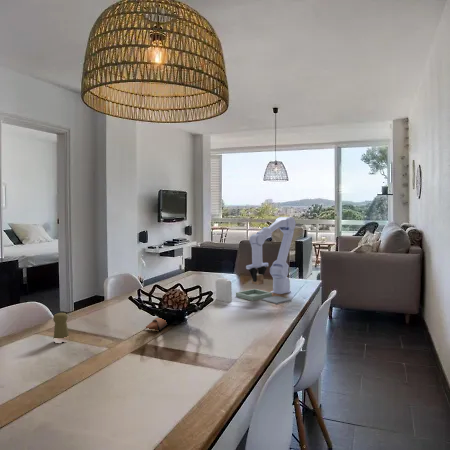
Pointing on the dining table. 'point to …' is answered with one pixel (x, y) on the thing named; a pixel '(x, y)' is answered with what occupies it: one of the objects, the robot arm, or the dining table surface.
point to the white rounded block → (223, 290)
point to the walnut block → (258, 280)
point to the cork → (60, 325)
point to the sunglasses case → (157, 324)
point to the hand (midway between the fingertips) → (257, 280)
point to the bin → (253, 294)
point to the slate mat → (276, 299)
